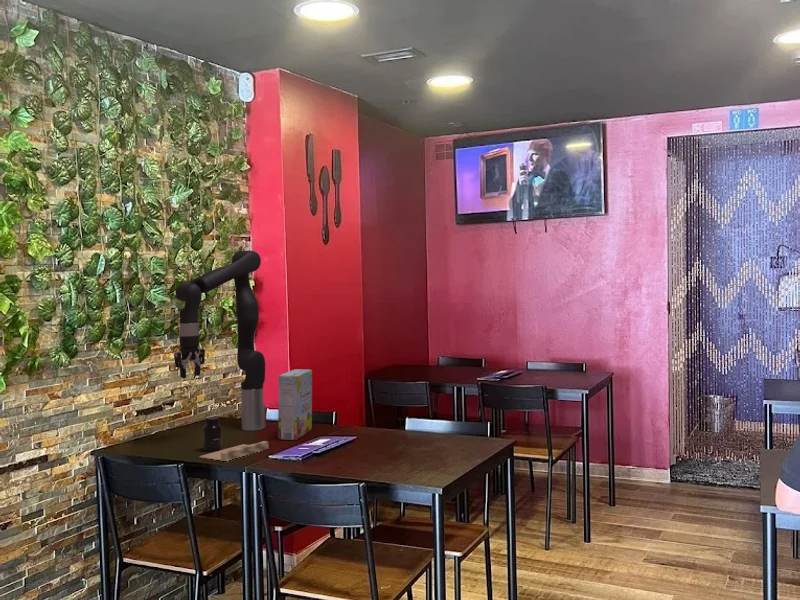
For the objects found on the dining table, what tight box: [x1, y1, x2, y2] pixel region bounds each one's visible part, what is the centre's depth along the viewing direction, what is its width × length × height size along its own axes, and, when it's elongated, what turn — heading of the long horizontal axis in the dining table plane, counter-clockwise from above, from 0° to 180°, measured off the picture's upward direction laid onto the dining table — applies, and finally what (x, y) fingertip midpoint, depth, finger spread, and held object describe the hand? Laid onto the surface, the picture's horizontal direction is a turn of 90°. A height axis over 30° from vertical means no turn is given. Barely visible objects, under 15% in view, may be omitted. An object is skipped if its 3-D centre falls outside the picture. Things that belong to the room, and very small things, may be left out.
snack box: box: [277, 368, 313, 441], centre depth 314 cm, size 22×9×26 cm, turn 171°
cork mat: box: [198, 443, 249, 461], centre depth 284 cm, size 22×11×1 cm, turn 147°
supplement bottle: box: [202, 416, 223, 453], centre depth 290 cm, size 7×7×12 cm
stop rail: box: [220, 440, 270, 462], centre depth 281 cm, size 22×2×3 cm, turn 147°
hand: (190, 376), depth 304 cm, fingers open, 6 cm apart
